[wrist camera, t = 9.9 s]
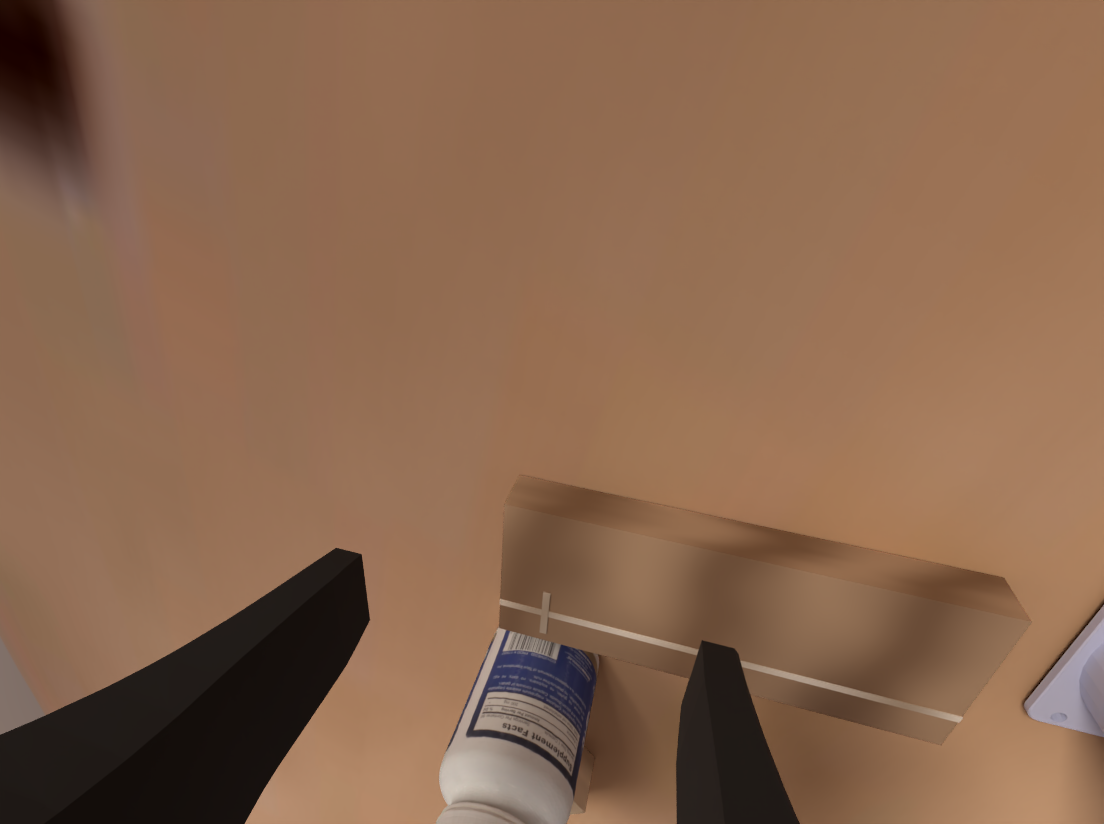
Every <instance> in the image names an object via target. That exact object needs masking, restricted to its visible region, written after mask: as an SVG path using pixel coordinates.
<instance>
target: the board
mask: <svg viewBox="0 0 1104 824" xmlns="http://www.w3.org/2000/svg"><path fill="white" fill-rule="evenodd" d="M1031 623H1032V621H1031V619H1030V618H1029V616H1028V615H1027V613H1026V612H1025V610H1024V608H1023V607H1022V605H1021V604H1020V602H1019V601H1018V599H1017V597H1016V596H1015V594H1014V593H1013V591H1012V590H1011V588H1010V586H1009V585H1008V583H1007V582H1006V580H1005V579H1004V578H1002V577H998V576H993V575H988V574H984V573H979V572H974V571H970V570H965V569H960V568H955V567H951V566H946V565H941V564H937V563H932V562H927V561H922V560H918V559H913V558H908V557H904V556H899V555H894V554H889V553H885V552H880V551H875V550H871V549H866V548H861V547H856V546H852V545H847V544H842V543H838V542H833V541H828V540H824V539H819V538H814V537H809V536H805V535H800V534H795V533H791V532H786V531H781V530H776V529H772V528H767V527H762V526H758V525H753V524H748V523H743V522H739V521H734V520H729V519H725V518H720V517H715V516H711V515H706V514H701V513H696V512H692V511H687V510H682V509H678V508H673V507H668V506H663V505H659V504H654V503H649V502H645V501H640V500H635V499H630V498H626V497H621V496H616V495H612V494H607V493H602V492H598V491H593V490H588V489H583V488H579V487H574V486H569V485H565V484H560V483H555V482H550V481H546V480H541V479H536V478H532V477H527V476H522V475H519V477H518V479H517V481H516V483H515V485H514V486H513V488H512V490H511V492H510V494H509V496H508V498H507V500H506V502H505V504H504V521H503V545H502V569H501V593H500V617H499V628H501V629H504V630H508V631H512V632H516V633H519V634H523V635H527V636H531V637H535V638H538V639H542V640H546V641H550V642H553V643H557V644H561V645H565V646H568V647H572V648H576V649H580V650H584V651H587V652H591V653H595V654H599V655H602V656H606V657H610V658H614V659H617V660H621V661H625V662H629V663H633V664H636V665H640V666H644V667H648V668H651V669H655V670H659V671H663V672H666V673H670V674H674V675H678V676H682V677H685V678H689V679H690V676H691V673H692V670H693V666H694V663H695V660H696V657H697V654H698V650H699V647H700V644H701V641H702V640H703V641H707V642H711V643H715V644H719V645H723V646H727V647H731V648H735V650H736V651H737V652H738V654H739V657H740V661H741V665H742V669H743V672H744V676H745V679H746V683H747V686H748V689H749V692H750V695H753V696H757V697H761V698H764V699H768V700H772V701H776V702H780V703H783V704H787V705H791V706H795V707H798V708H802V709H806V710H810V711H814V712H817V713H821V714H825V715H829V716H832V717H836V718H840V719H844V720H847V721H851V722H855V723H859V724H863V725H866V726H870V727H874V728H878V729H881V730H885V731H889V732H893V733H896V734H900V735H904V736H908V737H912V738H915V739H919V740H923V741H927V742H930V743H934V744H938V745H942V744H943V742H944V741H945V740H946V738H947V737H948V736H949V734H950V733H951V732H952V730H953V729H954V727H955V726H956V725H957V723H960V721H961V720H962V719H963V715H964V714H965V713H966V711H967V710H968V708H969V707H970V706H971V704H972V703H973V702H974V700H975V699H976V698H977V696H978V695H979V693H980V692H981V691H982V689H983V688H984V687H985V685H986V684H987V683H988V681H989V680H990V679H991V677H992V676H993V674H994V673H995V672H996V670H997V669H998V668H999V666H1000V665H1001V664H1002V662H1003V661H1004V660H1005V658H1006V657H1007V655H1008V654H1009V653H1010V651H1011V650H1012V649H1013V647H1014V646H1015V645H1016V643H1017V642H1018V641H1019V639H1020V638H1021V636H1022V635H1023V634H1024V632H1025V631H1026V630H1027V628H1028V627H1029V626H1030V624H1031Z"/></svg>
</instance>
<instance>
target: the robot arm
mask: <svg viewBox="0 0 1104 824" xmlns="http://www.w3.org/2000/svg"><path fill="white" fill-rule="evenodd" d="M369 621H370V617H369V609H368V601H367V593H366V585H365V577H364V569H363V561H362V554H358V553H354V552H350V551H346V550H343V549H339V548H335V549H334V550H332V551H331V552H329V553H328V554H326V555H325V556H323V557H322V558H320V559H319V560H317V561H316V562H314V563H313V564H311V565H310V566H308V567H307V568H305V569H304V570H302V571H301V572H299V573H298V574H296V575H295V576H293V577H292V578H290V579H289V580H287V581H286V582H284V583H283V584H281V585H280V586H278V587H277V588H275V589H274V590H272V591H271V592H269V593H268V594H266V595H265V596H263V597H262V598H260V599H259V600H257V601H256V602H254V603H252V604H251V605H249V606H248V607H246V608H245V609H243V610H242V611H240V612H239V613H237V614H236V615H234V616H232V617H231V618H229V619H228V620H226V621H224V622H223V623H221V624H219V625H218V626H216V627H214V628H213V629H211V630H209V631H208V632H206V633H205V634H203V635H201V636H200V637H198V638H196V639H195V640H193V641H191V642H190V643H188V644H186V645H185V646H183V647H181V648H179V649H178V650H176V651H174V652H172V653H171V654H169V655H167V656H165V657H163V658H162V659H160V660H158V661H156V662H154V663H152V664H151V665H149V666H147V667H145V668H143V669H141V670H139V671H137V672H135V673H133V674H131V675H129V676H128V677H126V678H124V679H122V680H120V681H118V682H116V683H114V684H112V685H110V686H108V687H106V688H104V689H102V690H99V691H97V692H95V693H93V694H91V695H89V696H87V697H84V698H82V699H80V700H78V701H76V702H74V703H71V704H69V705H67V706H65V707H63V708H61V709H58V710H56V711H54V712H52V713H50V714H48V715H46V716H43V717H41V718H39V719H37V720H34V721H32V722H30V723H27V724H25V725H23V726H21V727H18V728H15V729H13V730H11V731H9V732H6V733H4V734H1V735H0V824H245V822H246V820H247V818H248V816H249V815H250V813H251V811H252V809H253V808H254V806H255V804H256V802H257V800H258V799H259V797H260V795H261V793H262V792H263V790H264V788H265V787H266V785H267V784H268V782H269V780H270V779H271V777H272V776H273V774H274V772H275V771H276V769H277V768H278V766H279V765H280V763H281V762H282V760H283V759H284V757H285V756H286V754H287V753H288V751H289V750H290V748H291V747H292V745H293V744H294V742H295V741H296V740H297V738H298V737H299V735H300V734H301V732H302V731H303V729H304V728H305V726H306V725H307V723H308V722H309V720H310V719H311V717H312V716H313V714H314V713H315V712H316V710H317V709H318V707H319V706H320V704H321V703H322V701H323V700H324V698H325V697H326V695H327V694H328V692H329V691H330V689H331V688H332V686H333V685H334V683H335V682H336V680H337V679H338V677H339V676H340V674H341V673H342V671H343V670H344V668H345V667H346V665H347V663H348V661H349V659H350V658H351V656H352V654H353V652H354V650H355V648H356V646H357V644H358V642H359V640H360V638H361V636H362V634H363V633H364V631H365V629H366V627H367V625H368V623H369ZM1024 708H1025V710H1026V712H1027V714H1028V715H1029V716H1030V717H1031V718H1032V719H1035V720H1037V721H1041V722H1045V723H1049V724H1053V725H1057V726H1061V727H1065V728H1069V729H1073V730H1077V731H1081V732H1085V733H1089V734H1093V735H1097V736H1101V737H1104V605H1103V607H1102V608H1101V609H1100V610H1099V611H1098V613H1097V614H1096V615H1095V616H1094V618H1093V619H1092V620H1091V621H1090V623H1089V624H1088V625H1087V626H1086V628H1085V629H1084V630H1083V631H1082V632H1081V634H1080V635H1079V636H1078V637H1077V639H1076V640H1075V641H1074V642H1073V644H1072V645H1071V646H1070V647H1069V648H1068V650H1067V651H1066V652H1065V653H1064V655H1063V656H1062V657H1061V658H1060V660H1059V661H1058V662H1057V663H1056V664H1055V666H1054V667H1053V668H1052V669H1051V671H1050V672H1049V673H1048V674H1047V676H1046V677H1045V678H1044V679H1043V680H1042V682H1041V683H1040V684H1039V685H1038V687H1037V688H1036V689H1035V690H1034V692H1033V693H1032V694H1031V695H1030V696H1029V698H1028V699H1027V700H1026V701H1025V703H1024ZM676 781H677V824H800V823H799V821H798V819H797V817H796V814H795V812H794V810H793V807H792V805H791V803H790V800H789V798H788V795H787V793H786V791H785V788H784V786H783V783H782V781H781V778H780V776H779V773H778V771H777V768H776V765H775V763H774V760H773V758H772V755H771V753H770V750H769V747H768V745H767V742H766V739H765V737H764V734H763V731H762V728H761V726H760V723H759V720H758V717H757V714H756V711H755V708H754V705H753V702H752V699H751V696H750V692H749V689H748V686H747V683H746V679H745V676H744V672H743V669H742V665H741V661H740V657H739V654H738V652H737V651H736V650H735V648H731V647H727V646H723V645H719V644H715V643H711V642H707V641H703V640H702V641H701V644H700V647H699V650H698V654H697V657H696V660H695V663H694V666H693V670H692V673H691V676H690V679H689V682H688V686H687V689H686V692H685V695H684V698H683V701H682V705H681V714H680V725H679V736H678V748H677V761H676Z"/></svg>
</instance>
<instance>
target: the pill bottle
mask: <svg viewBox="0 0 1104 824" xmlns="http://www.w3.org/2000/svg"><path fill="white" fill-rule="evenodd" d="M598 669H599V657H598V654H595V653H591V652H587V651H584V650H580V649H576V648H572V647H568V646H565V645H561V644H557V643H553V642H550V641H546V640H542V639H538V638H535V637H531V636H527V635H523V634H519V633H516V632H512V631H508V630H504V629H501V628H499V627H498V629H497V631H496V633H495V635H494V637H493V639H492V641H491V644H490V646H489V648H488V650H487V653H486V656H485V658H484V661H483V663H482V665H481V668H480V670H479V673H478V675H477V678H476V680H475V682H474V685H473V687H472V690H471V692H470V695H469V697H468V699H467V702H466V704H465V707H464V709H463V712H462V714H461V717H460V719H459V721H458V724H457V726H456V729H455V731H454V734H453V736H452V738H451V740H450V743H449V745H448V748H447V750H446V752H445V755H444V758H443V761H442V764H441V768H440V774H439V783H440V788H441V792H442V795H443V797H444V799H445V801H446V803H447V804H448V806H447V807H446V808H445V809H444V810H443V811H442V813H441V815H440V816H439V817H438V819H437V821H436V824H566V823H567V821H568V819H569V816H570V812H571V808H572V805H573V800H574V795H575V790H576V783H577V778H578V773H579V767H580V762H581V757H582V752H583V748H584V742H585V737H586V731H587V727H588V722H589V717H590V711H591V706H592V701H593V696H594V691H595V686H596V681H597V674H598Z"/></svg>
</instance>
